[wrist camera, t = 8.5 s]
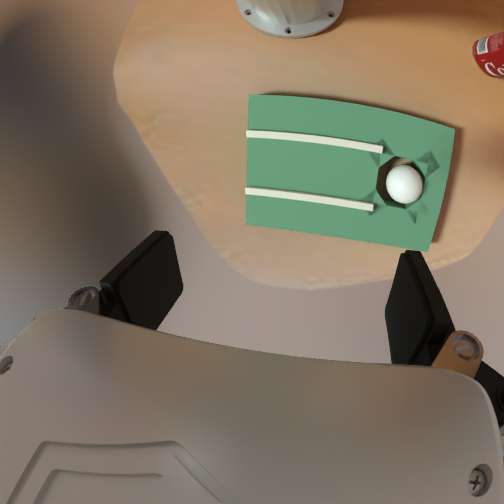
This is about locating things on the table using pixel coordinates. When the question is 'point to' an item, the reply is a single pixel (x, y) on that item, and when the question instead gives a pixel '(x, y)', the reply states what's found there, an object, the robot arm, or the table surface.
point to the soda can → (490, 54)
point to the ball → (404, 184)
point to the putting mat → (341, 169)
